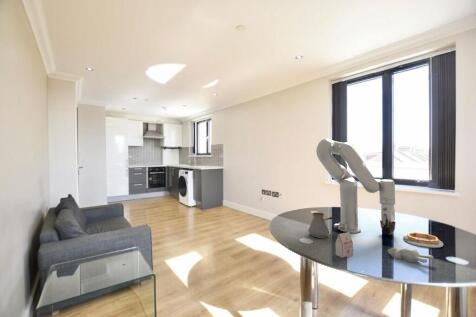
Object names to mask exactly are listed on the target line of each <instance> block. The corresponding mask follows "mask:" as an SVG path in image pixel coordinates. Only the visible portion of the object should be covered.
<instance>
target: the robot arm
mask: <svg viewBox="0 0 476 317" xmlns="http://www.w3.org/2000/svg"><path fill="white" fill-rule="evenodd" d="M315 151H316V156H317V159H318V160H319V162H320V163H321V164H322V166H323V167H324V169H325V170H326V171H327V173H328V174H329V175H330V177H331V178H332V179H334V180H335V181H336V182H337V183H338V185H339V195H340V196H339V198H340V202H339V203H340V215H341V217H340V221H339V222H338V223H334V224H333V227H334V228H337V229H338V230H340V232H341V231H342V232H343V233H347V232H350V234H353V233H354V234H358V233H361V232H362V228H361V227H359V210H358V206H359V205H358V182H359V183H360V184H361V186H362V187H363V188H364V190H365V191H366V192H367V193H371V194H375V193H377V192H379V204H380V205H381V206H380V208H381V209H380V211H381V212H380V216H381V219H380V220H381V221H383V230H382V233H383V234H384V235H385V234H390V227H389V222H390V223H391V222H394V221H395V220H396V211H395V209H396V208H395V205H396V184H395V181H394V180H393V179H377V178H375V177H374V176H373V174H372V173H371V171H370V170H369V169H368V167H367V165H366V163H365V161H364V160H363V159H362V158H361V156H360V155H359V153H358V152H357V151H356V149H355V148H354V147H353V145H352V144H351V143H349V142H341V141H336V140H332V139H329V138H323V139H321V140H320V141H319V142H318V144H317V146H316V150H315ZM333 154H334V155H338V156H341V158H342V159H343V160H344V162H345V163H346V165H347V166H348V168H349V169H350V171H351V172H352V174H354V175H355V177H356V179H358V182H357V180H356V179H355V178H354V177H353V175H352V174H351V173H350V172H349V171H348V169H347V168H346V167H345V166H344V165H342V164H340V163H339V161H338V160H337V159H336V158H335V156H333ZM342 217H343V219H342ZM387 223H388V224H387Z"/></svg>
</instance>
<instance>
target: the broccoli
mask: <svg viewBox="0 0 476 317" xmlns="http://www.w3.org/2000/svg"><path fill="white" fill-rule="evenodd" d="M379 222H380V223H379V224H380V228H381V230H382V231H383V221H382V219H380V220H379ZM387 224H388V223H387ZM389 227H390V234H384V235H386V236H391V235H393V234H392V233H393V232H395V229H396V221H395V220H394V221H393V222H391V223H390V222H389Z"/></svg>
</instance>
